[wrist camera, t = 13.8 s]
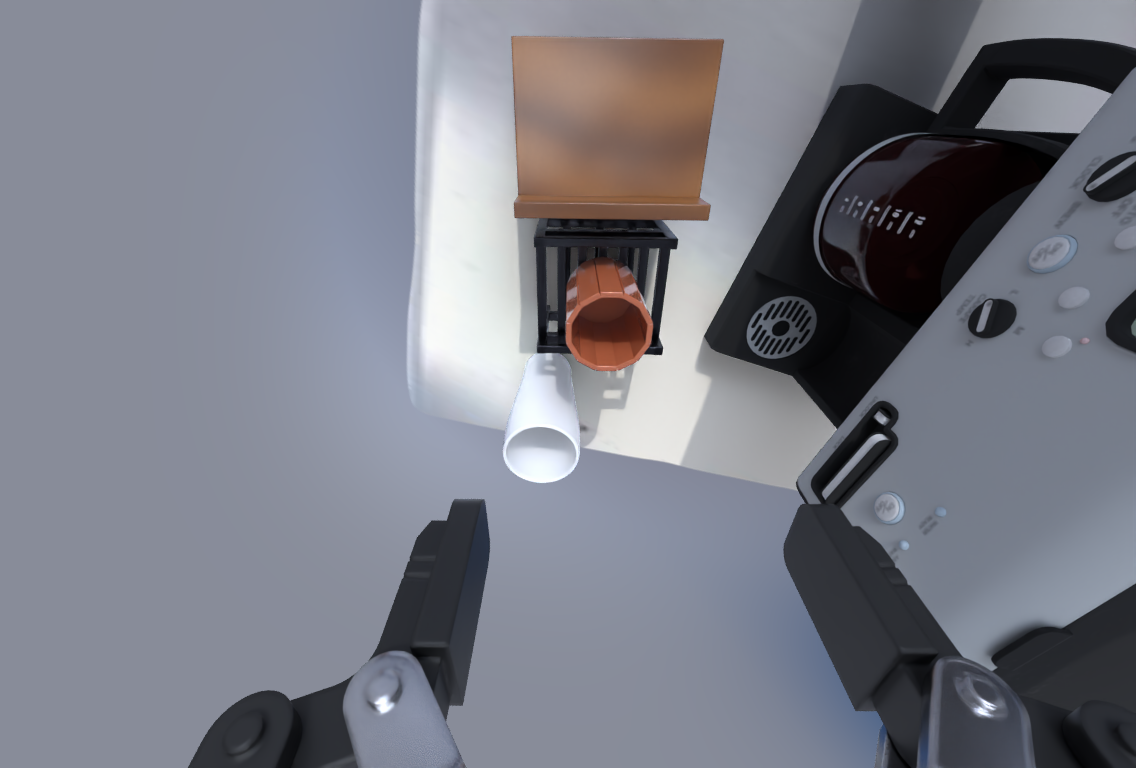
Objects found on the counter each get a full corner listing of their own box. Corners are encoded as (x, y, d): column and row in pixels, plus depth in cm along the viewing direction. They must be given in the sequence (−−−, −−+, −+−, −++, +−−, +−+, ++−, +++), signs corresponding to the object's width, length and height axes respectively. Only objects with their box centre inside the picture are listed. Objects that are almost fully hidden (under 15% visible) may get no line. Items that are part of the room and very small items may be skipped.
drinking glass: (513, 346, 49) (493, 428, 36) (573, 339, 48) (575, 420, 36) (524, 396, 52) (509, 488, 40) (580, 390, 52) (584, 481, 39)
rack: (540, 212, 42) (533, 237, 33) (657, 214, 42) (678, 238, 33) (542, 311, 47) (537, 353, 39) (646, 313, 47) (662, 355, 39)
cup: (566, 256, 36) (566, 291, 29) (639, 256, 36) (657, 292, 29) (566, 323, 39) (565, 370, 32) (633, 324, 39) (647, 371, 32)
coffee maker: (865, 22, 34) (2896, -613, 4) (1058, 115, 37) (3000, 118, 8) (697, 334, 48) (906, 693, 18) (848, 383, 51) (1236, 756, 21)
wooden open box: (525, 54, 35) (505, 27, 24) (687, 57, 35) (740, 31, 24) (529, 189, 41) (514, 218, 29) (670, 191, 41) (708, 220, 30)
